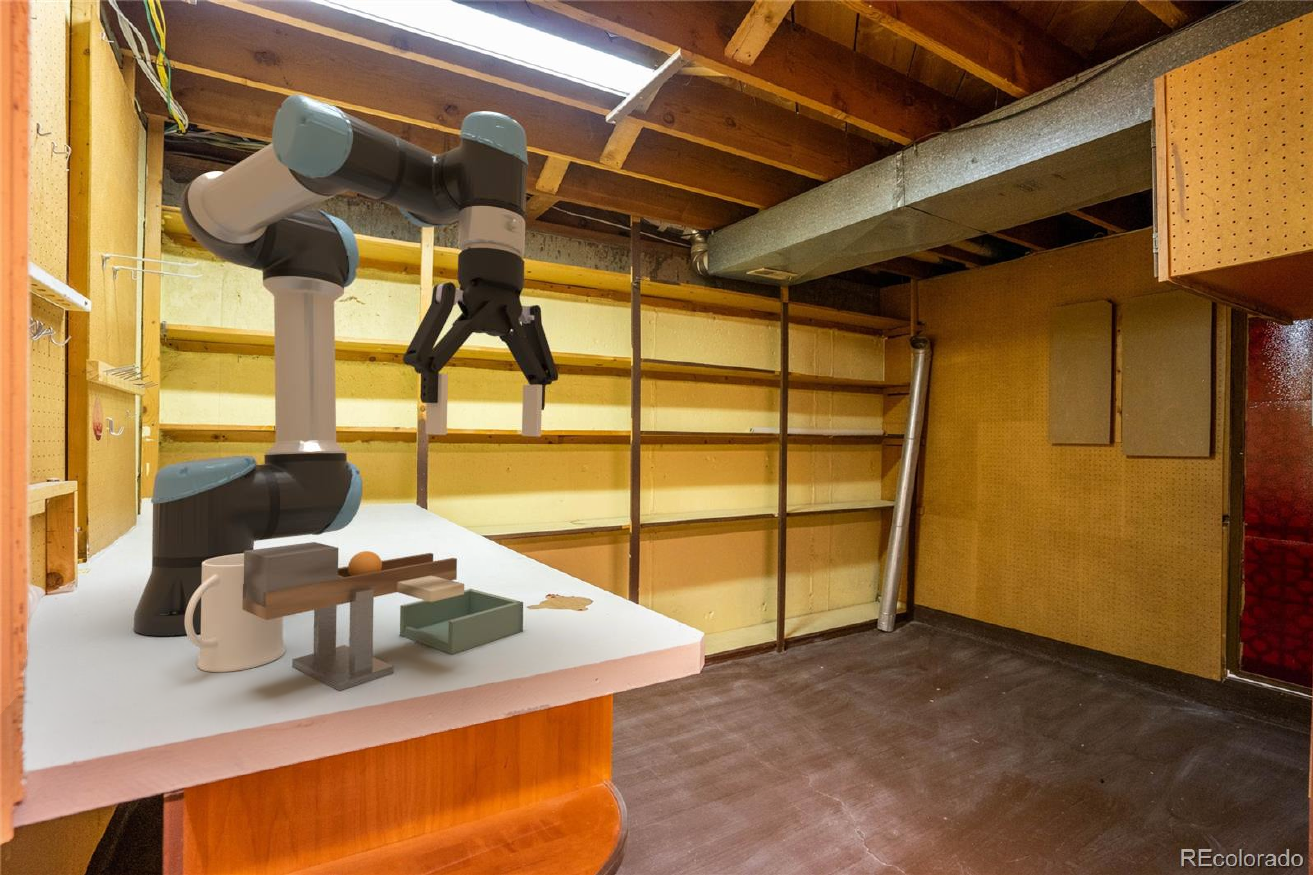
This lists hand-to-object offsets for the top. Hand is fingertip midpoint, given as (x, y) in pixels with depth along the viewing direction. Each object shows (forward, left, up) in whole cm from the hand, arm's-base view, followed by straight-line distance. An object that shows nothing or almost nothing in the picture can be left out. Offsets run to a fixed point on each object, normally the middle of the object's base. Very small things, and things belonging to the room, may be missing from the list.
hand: (487, 435), depth 69 cm
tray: (-12, +6, -27) cm, 30 cm away
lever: (-9, -8, -19) cm, 22 cm away
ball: (-12, -8, -16) cm, 21 cm away
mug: (-24, -17, -27) cm, 40 cm away
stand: (-12, -10, -27) cm, 31 cm away
